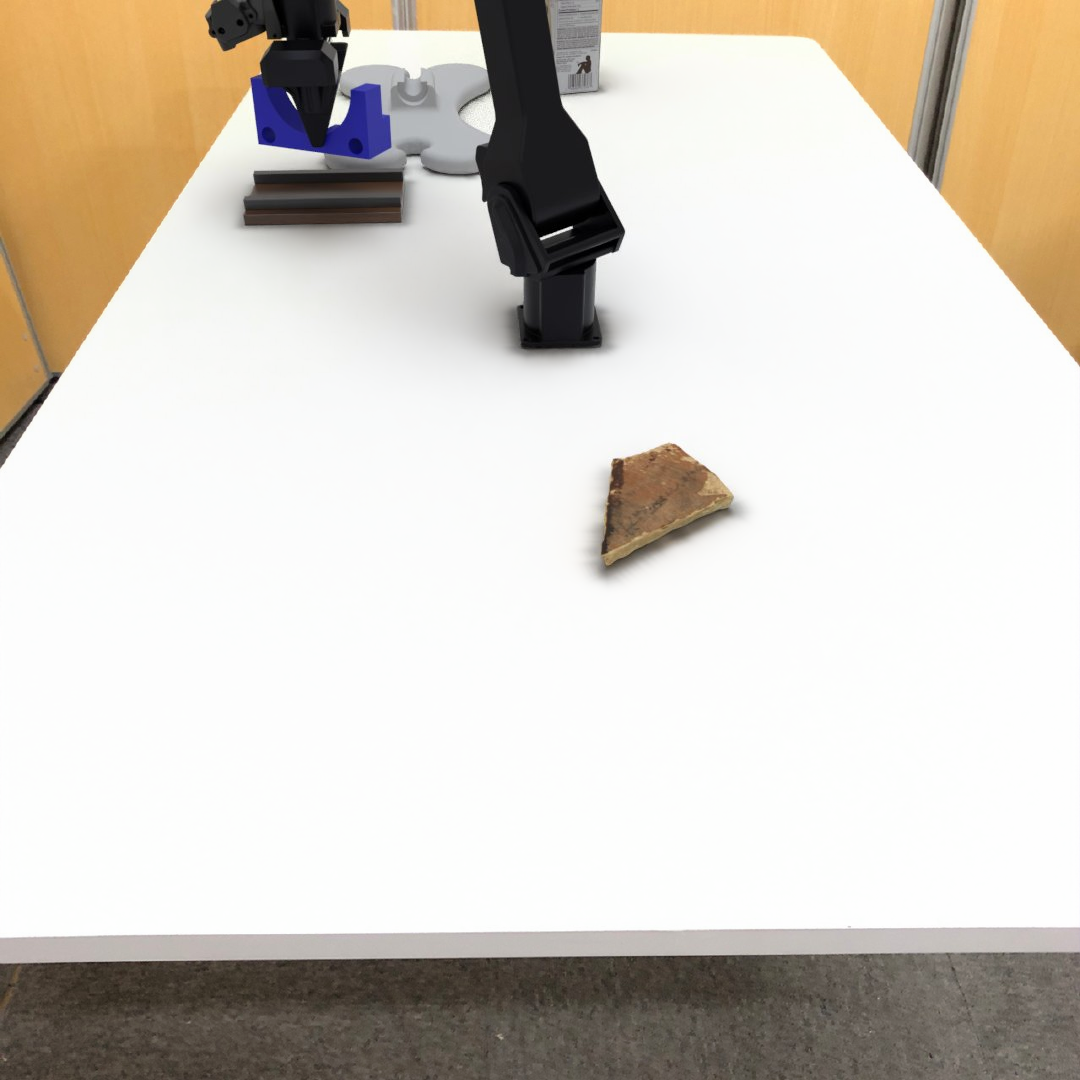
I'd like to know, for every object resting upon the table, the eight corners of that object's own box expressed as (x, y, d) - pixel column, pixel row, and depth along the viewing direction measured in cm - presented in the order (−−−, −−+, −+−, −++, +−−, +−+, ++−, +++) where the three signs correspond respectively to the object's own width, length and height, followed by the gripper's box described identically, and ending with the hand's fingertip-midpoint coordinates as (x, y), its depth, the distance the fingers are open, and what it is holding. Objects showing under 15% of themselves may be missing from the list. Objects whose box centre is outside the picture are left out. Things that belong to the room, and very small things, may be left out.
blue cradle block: (391, 147, 102) (388, 81, 99) (369, 159, 99) (365, 91, 95) (283, 133, 106) (276, 68, 102) (258, 144, 102) (250, 77, 99)
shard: (600, 573, 63) (601, 551, 62) (529, 508, 68) (529, 485, 67) (736, 511, 68) (739, 489, 67) (661, 454, 73) (663, 432, 72)
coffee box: (530, 74, 139) (531, -65, 129) (577, 70, 141) (581, -68, 130) (552, 95, 133) (554, -50, 122) (600, 91, 134) (606, -53, 124)
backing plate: (401, 222, 103) (400, 201, 101) (244, 225, 102) (241, 204, 100) (404, 182, 110) (403, 163, 109) (259, 185, 109) (255, 166, 108)
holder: (490, 77, 138) (489, 36, 135) (504, 175, 112) (503, 127, 109) (342, 80, 137) (338, 38, 134) (322, 179, 111) (316, 131, 108)
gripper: (220, -66, 99) (249, 107, 108) (181, -20, 84) (219, 174, 94) (341, -67, 99) (359, 105, 109) (323, -22, 85) (345, 172, 95)
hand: (320, 137), depth 102 cm, fingers closed on blue cradle block, 5 cm apart
